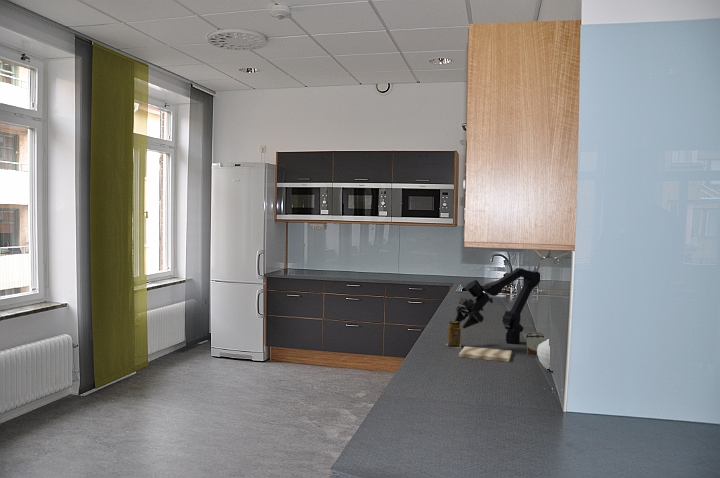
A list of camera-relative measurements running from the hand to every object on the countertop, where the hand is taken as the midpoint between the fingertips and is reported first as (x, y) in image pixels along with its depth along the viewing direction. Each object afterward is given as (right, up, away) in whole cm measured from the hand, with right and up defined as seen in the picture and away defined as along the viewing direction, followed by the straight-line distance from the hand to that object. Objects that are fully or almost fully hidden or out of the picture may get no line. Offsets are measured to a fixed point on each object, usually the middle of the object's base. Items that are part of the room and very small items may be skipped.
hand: (458, 326), depth 275 cm
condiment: (-2, -10, 0) cm, 10 cm away
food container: (+34, -11, -14) cm, 39 cm away
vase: (+35, -12, -42) cm, 56 cm away
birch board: (+9, -11, -18) cm, 23 cm away
